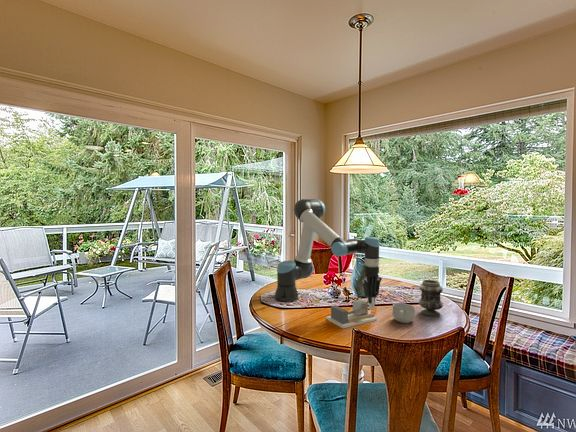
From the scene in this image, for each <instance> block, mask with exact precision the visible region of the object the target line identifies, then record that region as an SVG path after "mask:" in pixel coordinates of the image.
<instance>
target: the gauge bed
mask: <svg viewBox="0 0 576 432" xmlns="http://www.w3.org/2000/svg"><path fill="white" fill-rule="evenodd" d="M325 318H326V320H327V321H329V322H330V323H333V324H335V325H336V326H338V327H339V328H341V329H346V328H350V327H355V326H359V325H363V324H367V323H371V322H375V321H377V317H375V314H374V313H373V312H372V313H368V314H367V315H363V316H356V315H354V314H353V309H351V310H346V309H344V308H342V307H340V306H338V305H336V304H335V305H330V315H328V316H326V317H325Z"/></svg>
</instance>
